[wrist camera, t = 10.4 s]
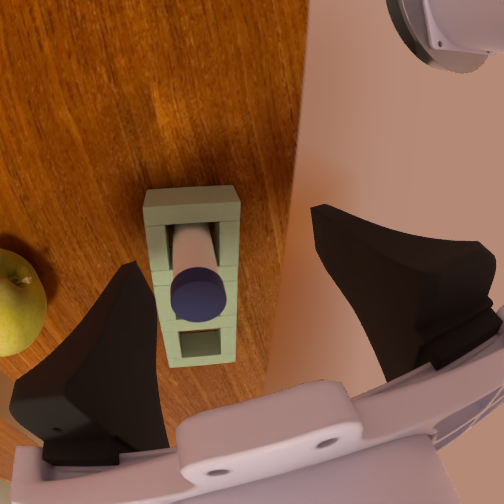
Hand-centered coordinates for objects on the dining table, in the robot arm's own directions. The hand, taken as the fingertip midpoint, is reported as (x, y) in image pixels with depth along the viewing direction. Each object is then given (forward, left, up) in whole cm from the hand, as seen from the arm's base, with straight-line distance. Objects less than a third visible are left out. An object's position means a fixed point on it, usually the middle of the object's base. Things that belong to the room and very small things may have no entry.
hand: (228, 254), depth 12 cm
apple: (+18, +2, -11) cm, 21 cm away
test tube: (+2, +4, -10) cm, 11 cm away
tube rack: (+3, +8, -10) cm, 14 cm away
